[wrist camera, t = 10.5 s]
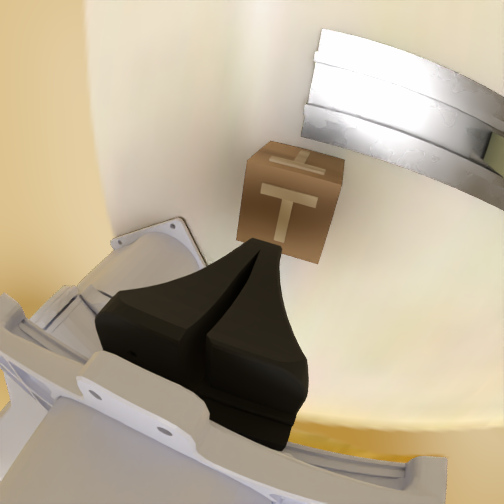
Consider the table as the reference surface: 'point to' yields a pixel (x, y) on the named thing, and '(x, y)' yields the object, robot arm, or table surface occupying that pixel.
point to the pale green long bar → (495, 153)
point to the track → (405, 113)
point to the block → (290, 199)
